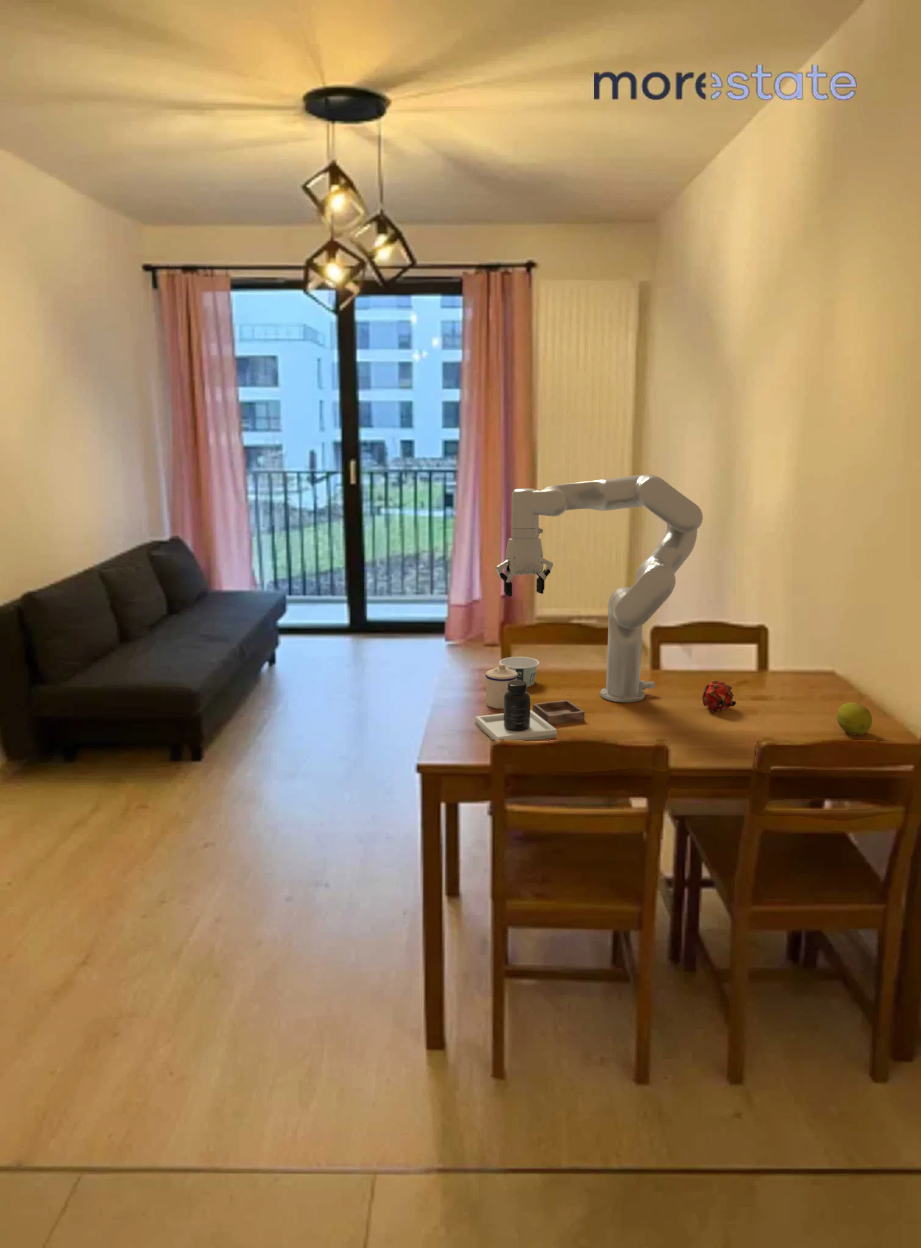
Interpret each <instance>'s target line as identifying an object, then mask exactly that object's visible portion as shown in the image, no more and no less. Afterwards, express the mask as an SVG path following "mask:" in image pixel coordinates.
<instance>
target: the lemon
mask: <svg viewBox="0 0 921 1248" xmlns="http://www.w3.org/2000/svg"><path fill="white" fill-rule="evenodd" d="M836 720H837V723H838V725H839V726H840V729H842V730H843V731H844V732H845V733H848V734H850V733H851V734H850V735H854V734H856V736H862V735H865V734H867V733H868V732H869V731H870V729H871V727H872V725H873V716H872V714H871V712H870V710H869V709H868V708H867V707H866V706H865V705H863V704H861V703H858V702H853V701H851V702H846V703H844V704H842V705H841V706H839V708H838V711H837V716H836Z"/></svg>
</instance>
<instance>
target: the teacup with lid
mask: <svg viewBox="0 0 921 1248" xmlns="http://www.w3.org/2000/svg"><path fill="white" fill-rule="evenodd" d="M517 677H518V674H517V672H516V671H514V670H511V669H509V668H507V667H505V664H500V663H499V664H498V666H497V667H494V668H493V669H489V670H487V671H486V673H485V679H486V681H485V685H486V686H485V704H486V705H487V706H488V707H489V708H492V709H498V710H504V695H505V693H506V692H508V690H507V688H508V682H510V681H514V680H517Z"/></svg>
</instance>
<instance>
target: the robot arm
mask: <svg viewBox="0 0 921 1248" xmlns="http://www.w3.org/2000/svg"><path fill="white" fill-rule="evenodd" d="M639 507H644V508H646V509H647V510H649V511H650V512H651V513H653V515H655V516H656V517H657V518H658V519H661V520H662V521H663V522H665V523H666V532H665V533H664V534H665V535H664V536H663V538H662V540H661V541H660V542H659V543H658V544H657V546H656V547H655V548H654V550H653V551H652V552H651V553H650V554H649V555H648V556H647V557H646V558H645V559H644V560H643V562H642V563H641V564H640V565H639V566H638V568H637V569H636V571H635V574H634V576H635V577H634V578H635V582H634V584H633V585H632V586H631V587H629V586H627V587H625V586H624V587H619V588H617V589H616V590H615V591H614V592H612V593H611V595H610V597H609V599H608V603H607V619H608V620H607V622H608V623H607V625H608V629H607V630H608V631H607V655H606V656H607V659H606V677H605V678H606V680H605V683H606V684H605V687H604V688H602V689H601V690H600V692H599V693H600V694H599V695H600V696H601V698H603V699H605V700H608V701H610V702H615V703H635V702H640V701H642V700H644V699H645V697H646V693H645V692H644V691H645V690H646V689H654V688H656V684H655V681H647V680H641V668H642V666H641V665H642V645H643V626H644V625H645V624H646V623H647V622H648V621H649V620H650V619H651V618H652V617H653V615H654V614H655V613H656V612H657V611H658V610H659V609H660V608H661V606H663V604H664V603H666V601H667V600H668V599H669V597H670V596H671V595H672V593H673V591H674V589H675V587H676V581H677V580H676V572H677V571H678V570H679V569H680V568H681V566H682V565H683V564H684V563H685V561H686V560H687V559H688V558H689V556H690V555H691V553H692V552H693V550H694V548H695V545H696V542H697V537H698V529H699V528H700V527H701V525H702V523H703V519H704V518H703V516H704V515H703V512H702V509H701V508H700V506H698V505H697V504H696V503H695V502H694V501H692V500H691V499H689V498H688V497H687V496H685V495H684V494H683V493H681V492H680V491H678V490H677V489H676V488H674V487H673V486H672V485H671V484H670V483H669V482H667V481H666V480H664V479H663V478H661V477H660V476H657V475H655V474H649V473H647V474H646V473H645V474H639V475H637V474H636V475H630V476H622V477H621V476H620V477H613V478H604V479H596V480H589V481H579V482H572V483H569V482H568V483H563V484H553V485H549V486H547V487H544V488H543V489H542V490H537V489H536V488H527V487H526V488H525V487H524V488H516V489H514V490H513V491H512V493H511V526H510V527H511V532H510V533H511V538H508V539H507V545H506V550H505V551H506V552H505V559H504V561H503V562H501V563H499V564H497V565H496V566H495V571H496V573H497V574H498V577H499V578H500V579H501V580H502V581H503V583H504V584H503V587H504V588H503V589H504V590H503V593H504V594H505V596H507V597H512V596H513V582H511V581H512V579H513V578H514V577H515V576H527V575H536V576H537V578H536V588H535V589H536V593H539V594H541V595H543V594H544V591H545V585H546V584H545V580H547V577H548V576H549V575H550V573H551V571H552V569H553V567H554V563H553V562H552V561H549V560H547V559H545V558H544V551H543V545H542V541H541V540H542V539H541V538H540V535H541V534H543V532H544V530H543V528H540V526H539V519H540V516H545V517H559V516H561V515H563V514H564V513H565V512H566V511H573V510H585V509H586V510H587V509H588V510H594V511H600V512H601V511H604V512H605V511H608V512H609V511H614V510H620V509H631V508H639ZM544 565H546V566H545V568H544ZM503 570H504V571H505V572H506V573H504V571H503Z"/></svg>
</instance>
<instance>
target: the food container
mask: <svg viewBox="0 0 921 1248" xmlns="http://www.w3.org/2000/svg"><path fill="white" fill-rule="evenodd" d="M499 664H505V667H507V668H509V669H511V670H514V671H516V672H517V674H518V677H517V680H519V681H524V682H526V684H527V688H528V687H531V685H532V686H533V685H535V682H536V676H537V670H538V666H539V665H540V661H539V660H538V659H536V658H533V657H527V656H510V657H509V656H508V657H505V658H502V659H500V660H499Z"/></svg>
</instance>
